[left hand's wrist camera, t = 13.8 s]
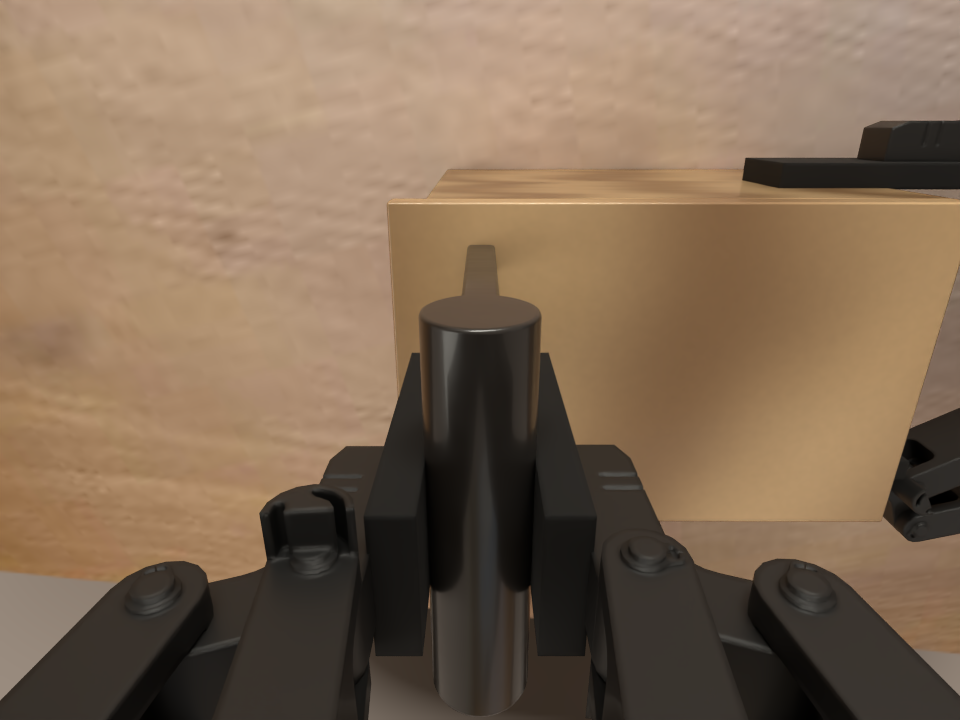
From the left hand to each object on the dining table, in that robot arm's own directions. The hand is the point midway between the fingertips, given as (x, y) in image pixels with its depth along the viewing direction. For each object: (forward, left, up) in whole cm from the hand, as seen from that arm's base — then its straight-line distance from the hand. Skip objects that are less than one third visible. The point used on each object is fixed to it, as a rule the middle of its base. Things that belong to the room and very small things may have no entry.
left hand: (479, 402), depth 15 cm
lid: (+5, +1, -2) cm, 6 cm away
